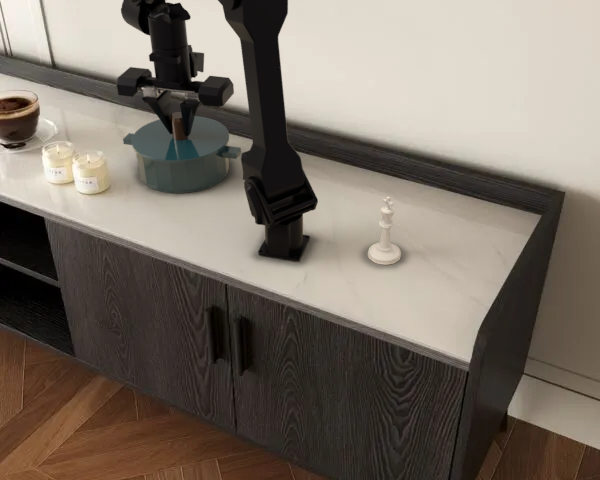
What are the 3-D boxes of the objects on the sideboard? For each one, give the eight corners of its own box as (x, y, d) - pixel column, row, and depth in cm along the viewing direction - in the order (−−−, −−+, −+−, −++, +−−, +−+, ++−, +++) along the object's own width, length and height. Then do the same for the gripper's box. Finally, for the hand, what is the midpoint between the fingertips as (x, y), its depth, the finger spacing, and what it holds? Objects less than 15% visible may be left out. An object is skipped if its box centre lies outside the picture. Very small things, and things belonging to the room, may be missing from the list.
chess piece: (383, 268, 111) (388, 210, 105) (360, 254, 114) (363, 196, 108) (407, 256, 114) (413, 198, 107) (384, 241, 117) (388, 184, 110)
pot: (224, 201, 126) (222, 169, 123) (110, 184, 131) (104, 152, 127) (254, 157, 138) (253, 126, 134) (148, 143, 143) (144, 113, 139)
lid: (208, 172, 123) (205, 143, 120) (115, 159, 127) (110, 131, 124) (242, 127, 135) (241, 100, 132) (157, 116, 139) (153, 90, 136)
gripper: (242, 31, 124) (247, 120, 134) (137, 21, 128) (150, 108, 138) (217, 56, 116) (225, 149, 126) (107, 45, 120) (122, 135, 130)
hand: (180, 134), depth 130 cm, fingers closed on lid, 3 cm apart
